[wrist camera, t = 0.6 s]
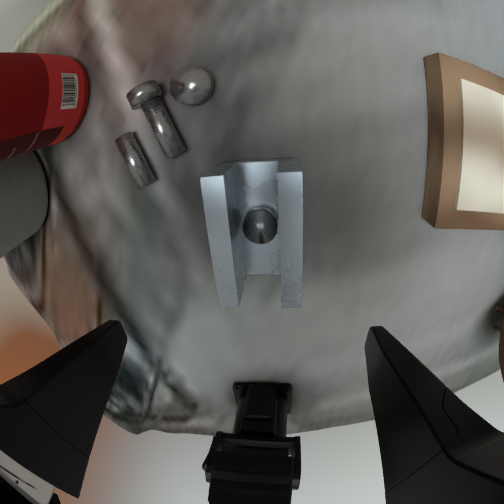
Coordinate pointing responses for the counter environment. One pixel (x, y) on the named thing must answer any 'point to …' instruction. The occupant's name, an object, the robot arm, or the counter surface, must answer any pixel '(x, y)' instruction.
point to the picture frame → (464, 146)
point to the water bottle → (21, 200)
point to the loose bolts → (162, 117)
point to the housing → (255, 225)
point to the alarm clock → (501, 341)
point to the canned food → (39, 101)
